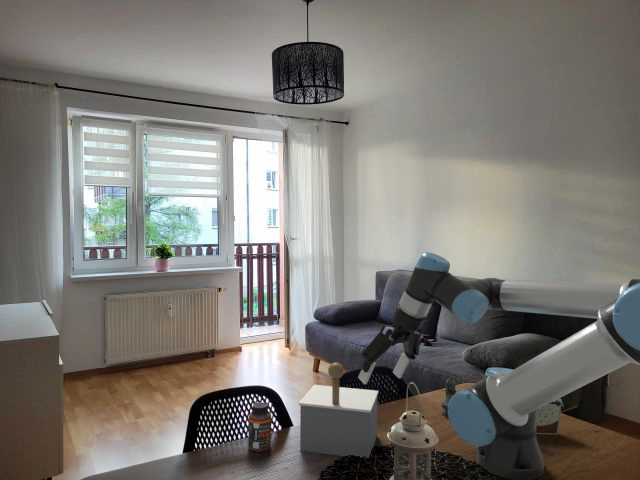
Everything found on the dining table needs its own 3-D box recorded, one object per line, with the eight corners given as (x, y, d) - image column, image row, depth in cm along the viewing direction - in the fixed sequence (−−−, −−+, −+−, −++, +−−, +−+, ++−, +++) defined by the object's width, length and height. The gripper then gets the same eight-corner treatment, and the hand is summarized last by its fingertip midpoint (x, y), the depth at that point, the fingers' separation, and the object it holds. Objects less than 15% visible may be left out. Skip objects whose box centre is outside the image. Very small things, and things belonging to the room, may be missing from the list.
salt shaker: (436, 412, 146) (437, 374, 146) (451, 409, 149) (451, 372, 149) (449, 419, 141) (449, 380, 141) (464, 416, 144) (464, 377, 143)
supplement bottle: (259, 455, 118) (260, 411, 118) (243, 448, 121) (243, 405, 121) (275, 446, 123) (276, 404, 122) (259, 440, 126) (259, 399, 126)
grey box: (376, 435, 129) (377, 393, 129) (369, 459, 116) (369, 411, 116) (314, 428, 134) (314, 387, 134) (300, 450, 120) (300, 404, 120)
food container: (554, 425, 137) (554, 392, 137) (563, 435, 131) (563, 399, 131) (511, 423, 138) (511, 390, 138) (517, 432, 132) (518, 397, 132)
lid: (378, 392, 129) (378, 353, 129) (370, 412, 115) (370, 368, 115) (313, 386, 134) (314, 348, 134) (298, 405, 120) (298, 362, 120)
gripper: (431, 302, 129) (400, 364, 135) (368, 302, 113) (337, 373, 119) (451, 317, 123) (419, 381, 130) (388, 320, 107) (355, 393, 114)
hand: (379, 378), depth 124 cm, fingers open, 13 cm apart
